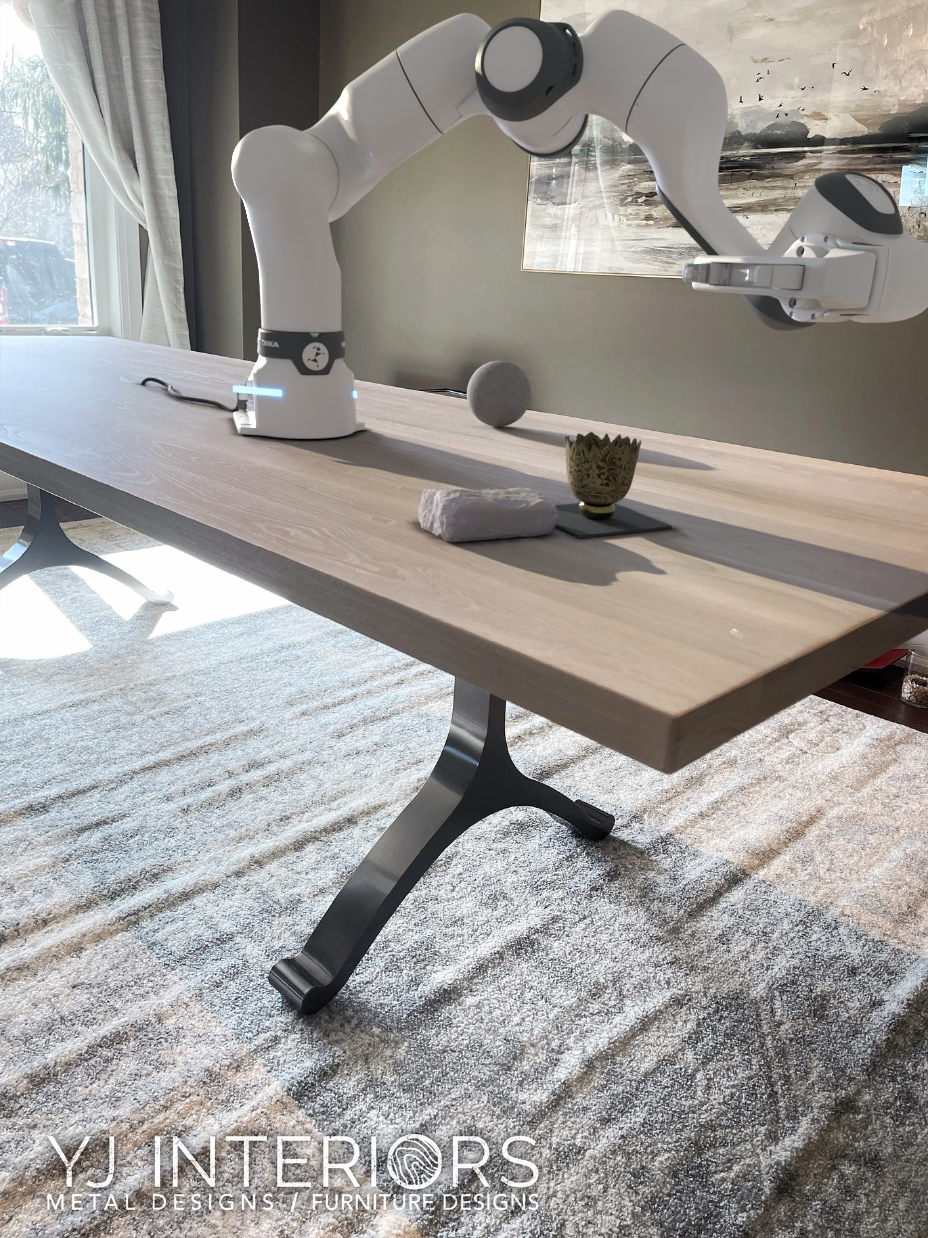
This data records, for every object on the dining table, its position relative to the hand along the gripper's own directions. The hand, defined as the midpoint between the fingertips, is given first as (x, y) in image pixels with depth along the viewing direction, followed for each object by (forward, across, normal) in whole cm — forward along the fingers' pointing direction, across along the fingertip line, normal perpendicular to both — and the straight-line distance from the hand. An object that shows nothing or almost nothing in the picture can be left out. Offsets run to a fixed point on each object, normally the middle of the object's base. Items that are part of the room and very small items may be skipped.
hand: (718, 273), depth 94 cm
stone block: (+25, -1, +24) cm, 34 cm away
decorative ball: (-6, -54, +24) cm, 59 cm away
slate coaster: (+12, 0, +24) cm, 27 cm away
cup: (+12, 0, +24) cm, 27 cm away
